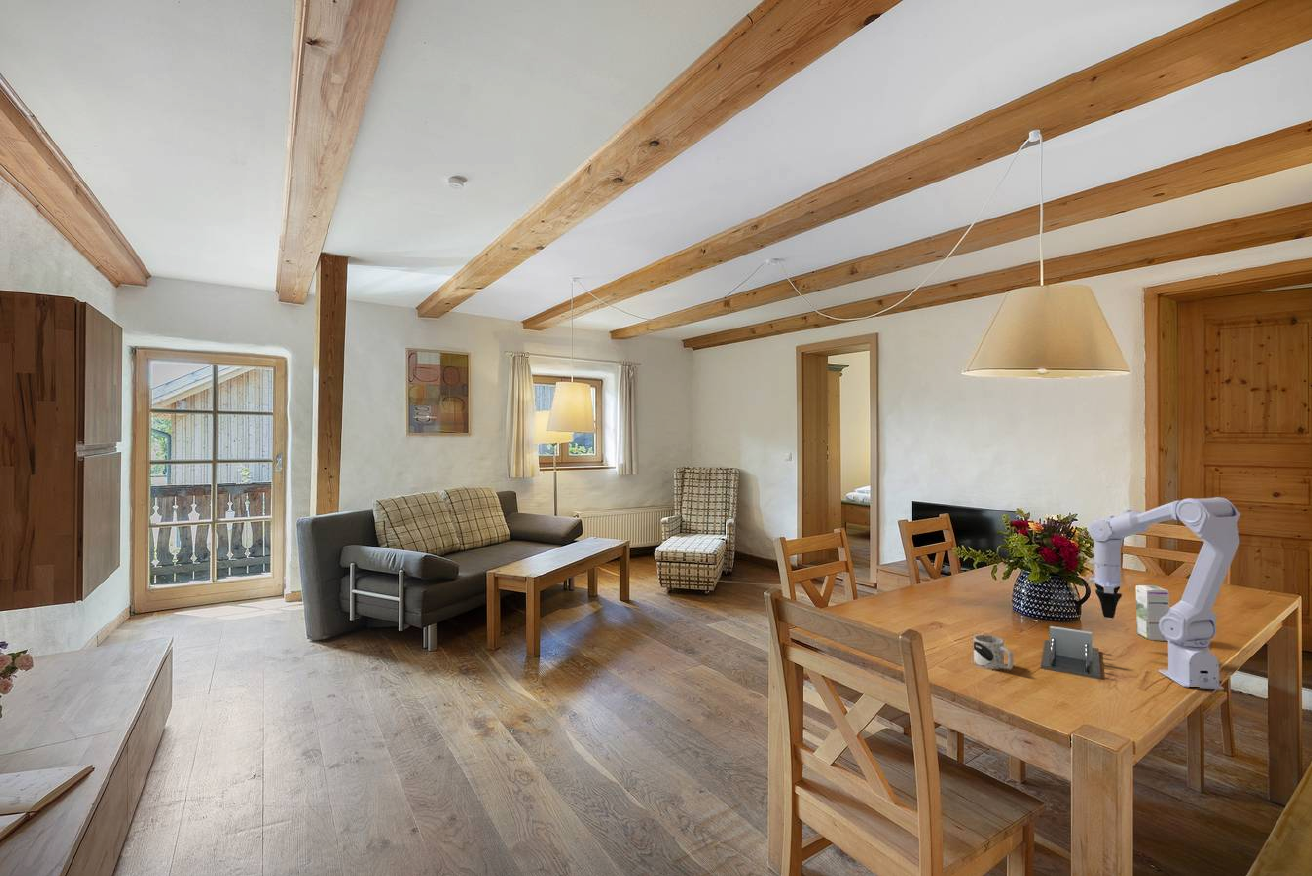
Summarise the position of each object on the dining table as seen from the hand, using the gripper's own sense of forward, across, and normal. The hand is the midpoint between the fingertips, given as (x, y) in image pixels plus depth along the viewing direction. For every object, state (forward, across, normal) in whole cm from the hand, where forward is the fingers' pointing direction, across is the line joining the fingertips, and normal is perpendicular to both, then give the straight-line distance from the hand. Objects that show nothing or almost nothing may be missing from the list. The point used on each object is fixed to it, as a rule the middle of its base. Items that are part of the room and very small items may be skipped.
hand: (1108, 614), depth 158 cm
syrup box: (+10, -20, +11) cm, 25 cm away
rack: (+10, +14, -8) cm, 19 cm away
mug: (+10, +30, -24) cm, 40 cm away
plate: (+9, +14, -8) cm, 18 cm away
